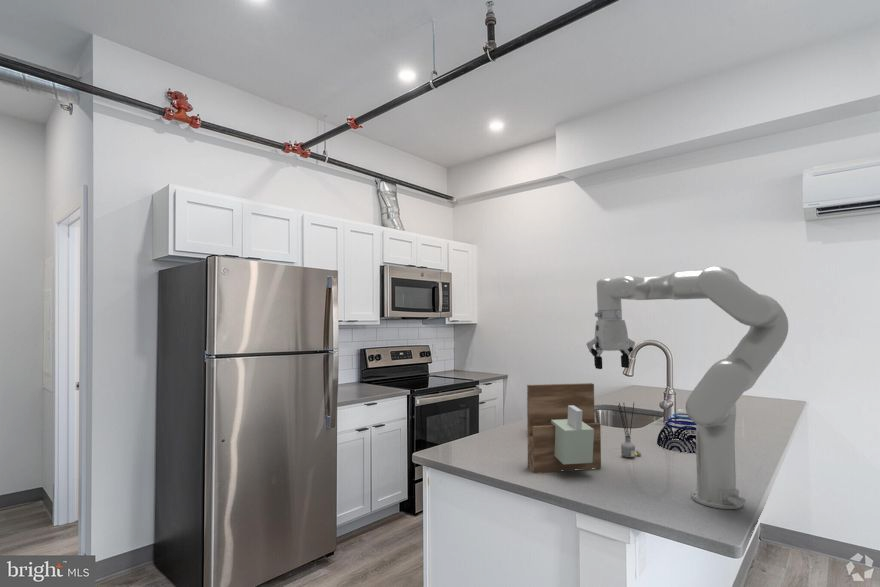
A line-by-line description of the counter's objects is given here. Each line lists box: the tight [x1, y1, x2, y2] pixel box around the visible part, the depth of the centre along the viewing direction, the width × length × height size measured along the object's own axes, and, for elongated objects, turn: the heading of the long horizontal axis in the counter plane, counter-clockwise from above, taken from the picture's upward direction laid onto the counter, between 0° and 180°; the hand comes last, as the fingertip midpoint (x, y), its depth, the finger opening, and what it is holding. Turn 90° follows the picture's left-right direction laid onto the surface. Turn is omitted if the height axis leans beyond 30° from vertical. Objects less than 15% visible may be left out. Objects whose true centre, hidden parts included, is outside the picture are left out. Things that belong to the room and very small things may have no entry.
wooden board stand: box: [526, 382, 602, 474], centre depth 163 cm, size 6×24×28 cm, turn 101°
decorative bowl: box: [656, 408, 697, 454], centre depth 189 cm, size 20×20×14 cm
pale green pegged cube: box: [551, 405, 594, 464], centre depth 157 cm, size 11×10×17 cm
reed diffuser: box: [617, 402, 642, 458], centre depth 176 cm, size 10×7×20 cm
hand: (612, 368), depth 156 cm, fingers open, 9 cm apart
